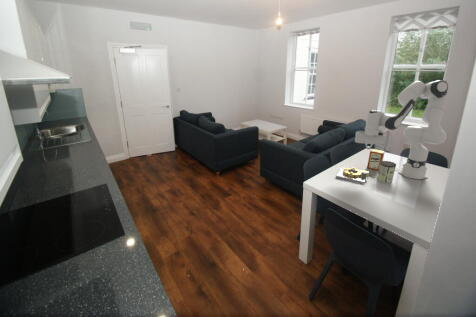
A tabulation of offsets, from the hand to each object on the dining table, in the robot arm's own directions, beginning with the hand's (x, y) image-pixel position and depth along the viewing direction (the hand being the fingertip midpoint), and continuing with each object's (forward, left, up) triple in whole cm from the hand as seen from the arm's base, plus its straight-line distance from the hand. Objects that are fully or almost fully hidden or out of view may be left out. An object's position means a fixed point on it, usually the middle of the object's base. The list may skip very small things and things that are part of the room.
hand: (368, 148), depth 179 cm
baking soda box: (-19, +6, -23) cm, 30 cm away
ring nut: (+7, -5, -20) cm, 22 cm away
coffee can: (+2, +15, -23) cm, 27 cm away
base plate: (+7, -7, -22) cm, 24 cm away
